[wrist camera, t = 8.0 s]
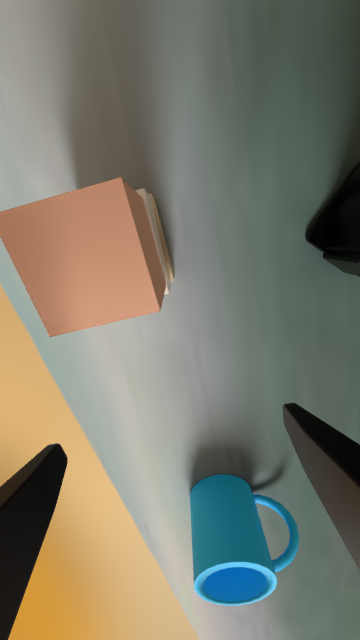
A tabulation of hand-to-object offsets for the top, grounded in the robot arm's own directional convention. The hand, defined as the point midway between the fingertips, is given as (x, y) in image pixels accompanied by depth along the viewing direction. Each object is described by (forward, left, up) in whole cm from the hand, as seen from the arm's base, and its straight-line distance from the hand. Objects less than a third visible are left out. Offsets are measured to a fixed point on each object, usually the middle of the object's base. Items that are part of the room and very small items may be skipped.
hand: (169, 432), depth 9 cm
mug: (+18, +19, -13) cm, 29 cm away
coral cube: (-4, -6, -7) cm, 10 cm away
